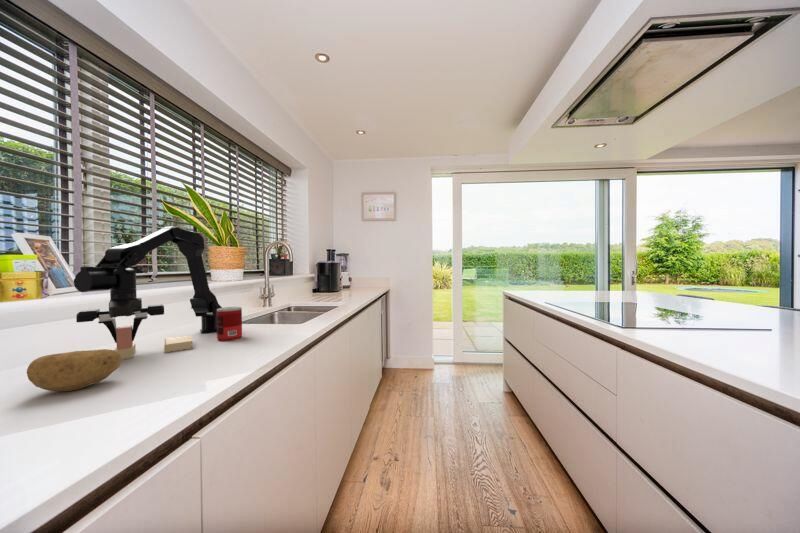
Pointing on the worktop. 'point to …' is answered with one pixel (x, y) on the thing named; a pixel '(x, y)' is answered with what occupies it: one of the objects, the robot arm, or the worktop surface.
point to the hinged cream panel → (178, 343)
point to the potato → (73, 369)
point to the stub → (125, 342)
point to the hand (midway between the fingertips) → (124, 341)
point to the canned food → (229, 323)
